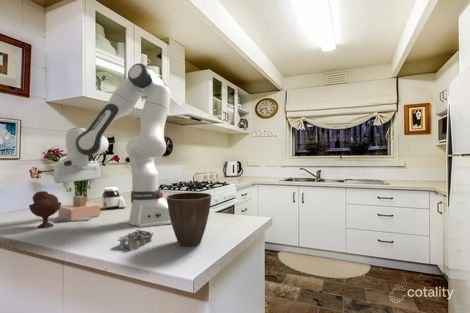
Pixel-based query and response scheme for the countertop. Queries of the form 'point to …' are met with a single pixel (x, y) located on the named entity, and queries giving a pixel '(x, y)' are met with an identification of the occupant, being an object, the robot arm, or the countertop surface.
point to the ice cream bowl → (44, 207)
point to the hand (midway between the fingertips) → (79, 190)
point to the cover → (79, 209)
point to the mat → (73, 220)
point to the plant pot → (189, 216)
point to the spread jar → (111, 198)
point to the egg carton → (135, 239)
